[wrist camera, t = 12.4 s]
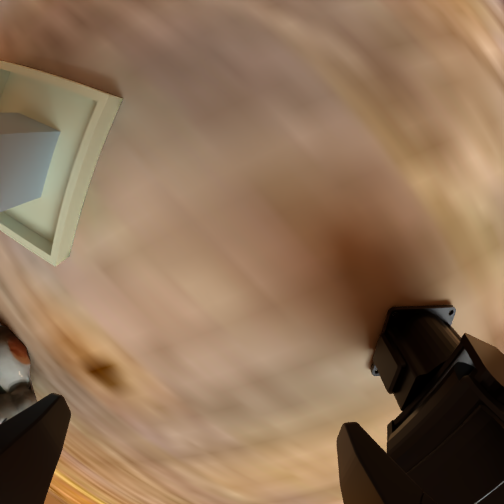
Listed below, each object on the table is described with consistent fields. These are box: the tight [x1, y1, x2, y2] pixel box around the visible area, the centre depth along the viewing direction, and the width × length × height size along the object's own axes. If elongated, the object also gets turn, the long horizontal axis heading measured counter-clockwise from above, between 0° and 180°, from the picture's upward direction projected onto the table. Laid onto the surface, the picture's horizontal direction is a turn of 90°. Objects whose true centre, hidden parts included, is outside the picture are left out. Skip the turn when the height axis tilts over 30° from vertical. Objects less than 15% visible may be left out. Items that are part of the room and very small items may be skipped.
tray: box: [0, 60, 123, 267], centre depth 17 cm, size 12×12×2 cm
